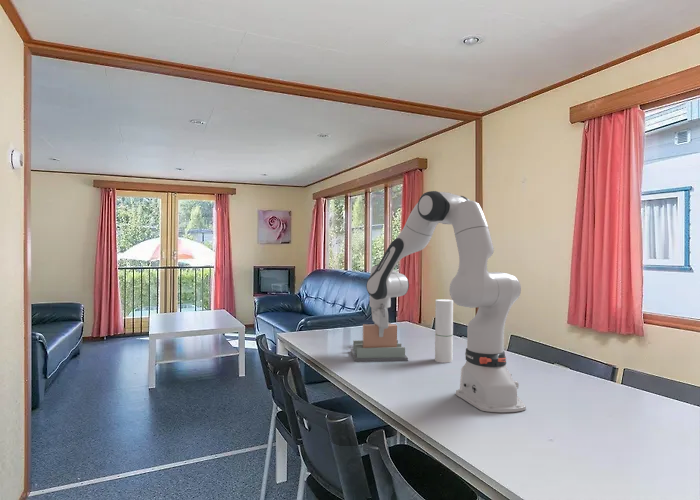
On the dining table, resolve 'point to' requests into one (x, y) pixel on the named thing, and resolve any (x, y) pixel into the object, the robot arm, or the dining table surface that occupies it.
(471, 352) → the robot arm
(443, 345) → the cylindrical container
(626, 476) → the dining table surface
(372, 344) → the terracotta tile
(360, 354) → the slotted rail base
